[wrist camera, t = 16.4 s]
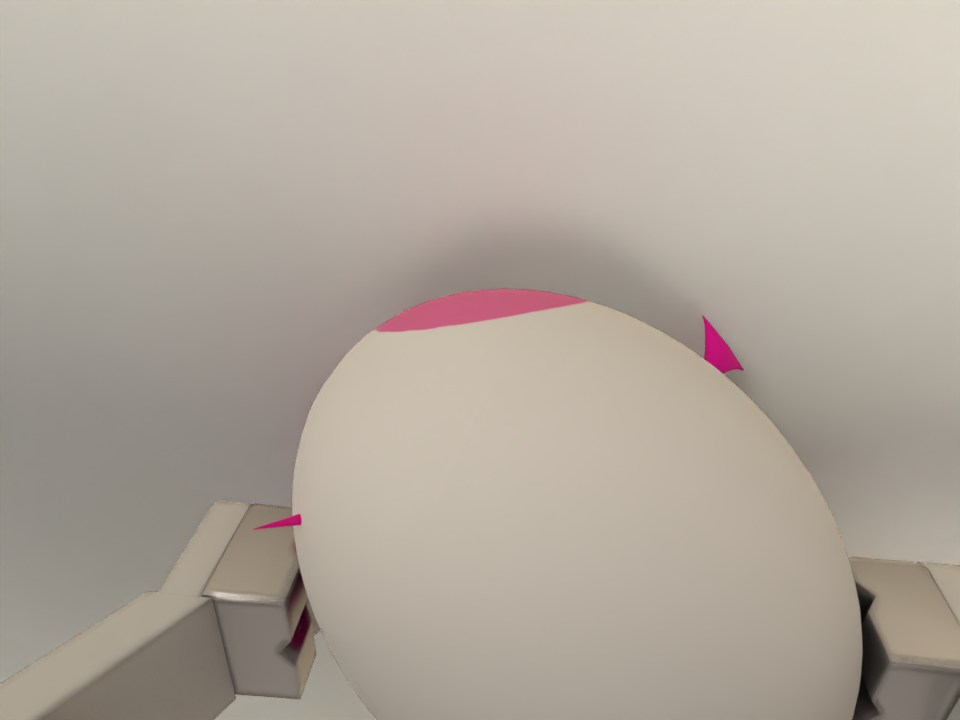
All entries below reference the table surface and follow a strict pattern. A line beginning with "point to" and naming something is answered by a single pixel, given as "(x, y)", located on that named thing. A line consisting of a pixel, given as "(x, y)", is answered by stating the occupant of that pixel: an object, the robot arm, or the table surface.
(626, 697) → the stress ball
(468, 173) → the table surface
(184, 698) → the robot arm
